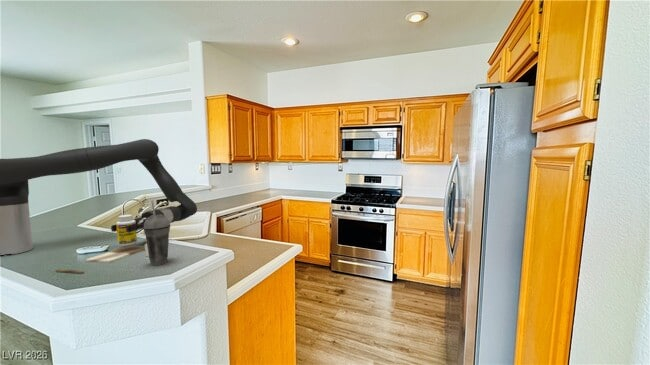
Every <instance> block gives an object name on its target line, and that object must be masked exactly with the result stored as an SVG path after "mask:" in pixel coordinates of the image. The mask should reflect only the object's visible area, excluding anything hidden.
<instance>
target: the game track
mask: <svg viewBox="0 0 650 365" xmlns="http://www.w3.org/2000/svg"><path fill="white" fill-rule="evenodd" d="M141 251H145V246H137V245H136V246H135V245H134V246H133V245H124V246H120V247H119V248H115V249H113V250H110V251H106V252H104V253H100V254H97V255H96V256H92V257H88V258H86V259H85V262H95V263H107V264H111V263H113V262H115V261H119V260H121V259H123V258H127V257H129V256H130V255H133V254H136V253H139V252H141ZM55 273H64V274H65V273H67V274H78V275H82V274H85V271H84V270H73V269H61V268H58V269H56V270H55Z"/></svg>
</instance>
